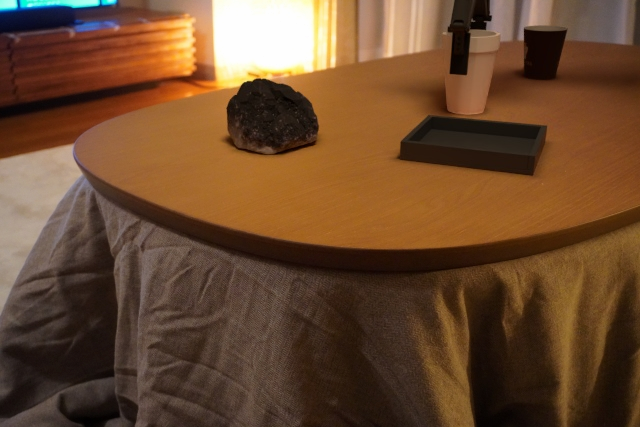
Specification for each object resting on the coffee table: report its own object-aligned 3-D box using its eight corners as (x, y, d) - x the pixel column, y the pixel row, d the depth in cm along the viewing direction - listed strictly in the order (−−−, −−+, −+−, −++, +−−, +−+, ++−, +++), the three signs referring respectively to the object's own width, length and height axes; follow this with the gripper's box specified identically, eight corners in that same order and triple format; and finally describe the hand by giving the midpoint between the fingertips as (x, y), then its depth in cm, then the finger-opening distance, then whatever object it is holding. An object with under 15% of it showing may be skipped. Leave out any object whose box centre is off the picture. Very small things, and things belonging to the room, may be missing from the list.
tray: (545, 142, 91) (547, 125, 90) (532, 175, 79) (535, 155, 78) (427, 130, 98) (428, 114, 96) (399, 159, 85) (400, 141, 84)
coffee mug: (556, 82, 127) (563, 31, 123) (514, 78, 131) (519, 29, 127) (567, 71, 136) (573, 24, 132) (526, 68, 140) (532, 23, 136)
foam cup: (479, 101, 114) (485, 28, 108) (503, 114, 105) (511, 35, 100) (430, 105, 112) (434, 31, 107) (450, 118, 104) (456, 38, 98)
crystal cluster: (331, 153, 90) (333, 84, 87) (239, 157, 86) (239, 84, 83) (302, 136, 102) (303, 74, 99) (220, 138, 98) (219, 74, 95)
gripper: (471, -70, 109) (461, 53, 117) (435, -70, 88) (426, 79, 97) (515, -71, 106) (501, 55, 115) (488, -71, 85) (474, 83, 94)
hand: (467, 66), depth 106 cm, fingers open, 13 cm apart
